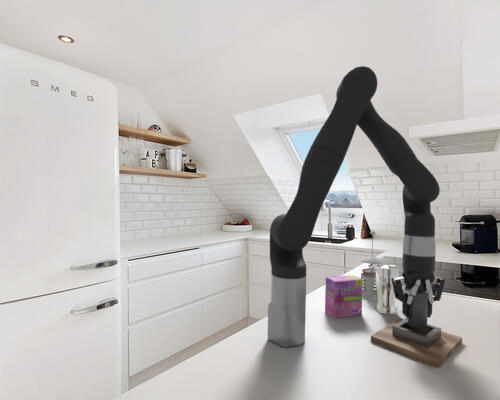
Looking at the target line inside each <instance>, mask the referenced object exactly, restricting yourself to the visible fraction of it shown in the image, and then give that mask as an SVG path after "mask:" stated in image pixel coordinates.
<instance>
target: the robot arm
mask: <svg viewBox="0 0 500 400" xmlns="http://www.w3.org/2000/svg"><path fill="white" fill-rule="evenodd" d="M377 78H378V77H377V75H376V73H375V71H374V70H373V69H372V68H370V67H369V66H365V65H364V66H362V65H361V66H357V67H354V68H352V69H350V70H349V71H348V72H347V73H346V74H345V75H343V77H342V79H341V81H340V83H339V85H338V87H337V90H336V93H335V96H336V97H335V98H336V100H335V104H334V105H333V108H332V109H331V112H330V114H329V116H328V117H327V119H326V120H325V121H324V123H323V125H322V127H321V128H320V130H319V132H318V133H317V135H316V136H315V138H314V140H313V142H312V143H311V146H310V148H309V150H308V152H307V154H306V157H305V159H304V161H303V164H302V167H301V171H300V175H299V183H298V187H297V191H296V194H295V197H294V199H293V201H292V203H291V204H290V206H289V208H288V210H287V212H286V213H282V214H279V215H277V216H276V217H275V218H274V219H273V220H272V222H271V225H270V228H269V229H270V230H269V263H270V267H271V268H270V269H271V278H270V279H271V281H270V282H271V285H270V302H269V303H268V305H267V340H269V341H271V342H273V343H274V344H276V345H278V346H280V347H282V348H284V349H286V348H287V347H289V348H290V347H298V346H300V345H302V344H304V343H305V341H306V307H307V306H306V302H307V265H306V262H305V259H304V254H303V253H304V252H303V249H304V248H305V247H306V246H307V245H308V244H309V242H310V240H311V238H312V236H313V233H314V230H315V226H316V223H317V221H318V217H319V214H320V211H321V209H322V206H323V204H324V202H325V200H326V198H327V196H328V194H329V192H330V189H331V188H332V186H333V183H334V181H335V179H336V177H337V175H338V173H339V171H340V169H341V167H342V165H343V162H344V160H345V158H346V155H347V152H348V150H349V148H350V146H351V142H352V139H353V137H354V134H355V132H356V128H357V126H358V127H359V129H360V130H361V131H362V132H363V134H365V136H366V137H367V138H368V139H369V141H370V142H371V143H372V145H373V146H374V148H375V150H376V151H377V152H378V154H379V155H380V157H381V158H382V160H383V162H384V163H385V164H386V166H387V167H388V170H389V171H390V172H391V173H392V174H393V175H395V176H397V177H398V179H399V180H400V181H401V183H402V184H403V187H402V206H403V212H404V213H403V214H404V224H403V225H404V226H403V227H404V230H403V232H404V233H403V235H404V236H403V241H402V264H401V265H402V267H401V268H402V270H403V271H402V274H401V276H400V277H399V276H398V278H395V277H393V278H392V279H391V281H392V285H393V289H394V294H395V300H398V301H399V302H401V303H402V304H401V305H402V306H401V307H402V311H401V313H402V314H403V316H404V317H405V318H411V314H412V304H411V302H412V299H413V297H414V296H415V295H416V292H419V291H422V292H427V293H428V315H427V318H431V316H432V314H433V304H434V303H435V302H436V301H437V302H440V301H441V298H442V294H443V291H444V287H445V283H446V280H445V279H444V278H442V277H439V276H435V273H434V272H435V271H436V248H437V247H436V246H437V244H436V220H435V219H436V218H435V216H434V215H433V213H432V211H431V210H432V209H431V208H432V207H431V203H432V202H435V200H436V199H437V198H438V197H439V196H440V191H441V189H440V184H439V181H438V180H437V179H436V177H435V176H434V174H433V173H432V172H431V170H429V169H428V168H427V167H426V166H425V165H424V163H422V162H421V161H420V159H418V157H417V156H416V154H415V152H414V151H413V149H412V148H411V146H410V145H409V143H408V142H407V140H406V138H405V137H404V136H403V135H402V134H401V133H400V132H399V131H398V130H397V129H396V128H394V127H392V125H391V124H389V123H388V122H386V120H384V119H383V117H381V116H380V115H379V113H378V112H377V110H376V108H375V107H374V105H373V103H372V101H371V100H372V98H373V97H374V96H375V94H376V91H377V89H378V79H377ZM431 285H432V286H431ZM409 289H410V290H411V291H409Z"/></svg>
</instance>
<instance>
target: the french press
mask: <svg viewBox="0 0 500 400" xmlns="http://www.w3.org/2000/svg"><path fill="white" fill-rule="evenodd" d="M369 234H370V235H371V236H372V238H371V239H372V240H371V241H372V242H371V243H372V244H371V255H370V256H363V258H361V259H360V261H361V262H362V263H365V264H370V265H380V264H384V260H382V259H381V258H380V257H377V256H374V255H373V253H374V251H373V250H374V235H376V231H373V230H371V231H370V232H369ZM361 271H362V273H360V278H361V279H363V285H362V299H364V300H368V301H376V302H378V296H377V289H376V268H375V267H374V266H372V267H371V268H363V269H361Z"/></svg>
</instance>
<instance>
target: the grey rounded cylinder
mask: <svg viewBox="0 0 500 400" xmlns="http://www.w3.org/2000/svg"><path fill="white" fill-rule="evenodd" d="M409 291H411V290H410V289H409ZM411 304H412V314H411V318H407V317H406V318H407V321H406V324H407V325H408V326H410V327H412V328H416V329H426V328H427V324H428V317H427V315H428V293H427V292H422V291H419V292H416V295H415V296H414V297H413V299H412V302H411Z"/></svg>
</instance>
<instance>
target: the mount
mask: <svg viewBox="0 0 500 400" xmlns="http://www.w3.org/2000/svg"><path fill="white" fill-rule="evenodd" d="M406 321H407V317H405V318H401V317H400V318H398V319H396V320H395V321H393V322H391V323H389V324H388V325H386V326H384V327H383V328H381V329H379V330H378V331H376V332H375V333H373V334H372V335H371V334H370V342H371V343H374V344H376V345H379V346H382V347H384V348H387V349H390V350H392V351H394V352H397V353H399V354H402V355H404V356H407V357H409V358H412V359H415V360H417V361H419V362H422V363H425V364H427V365H430V366H433V367H435V368H437V369H439V368H440V367H442V366H443V364H445V362H446V361H447V360H448V359H449V358H450V357H451V356H452V355H453V354H454V352H455V351H456V350H457V349H458V348H460V346H461V345H462V344H463V337H462V336H458V335H455V334H452V333H448V332H446V331H443V330H442V327H439V326H436V325H433V324H432V325H431V324H428V323H427V328H426V329H416V328H412V327H410V326H408V325H407V324H406Z"/></svg>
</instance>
